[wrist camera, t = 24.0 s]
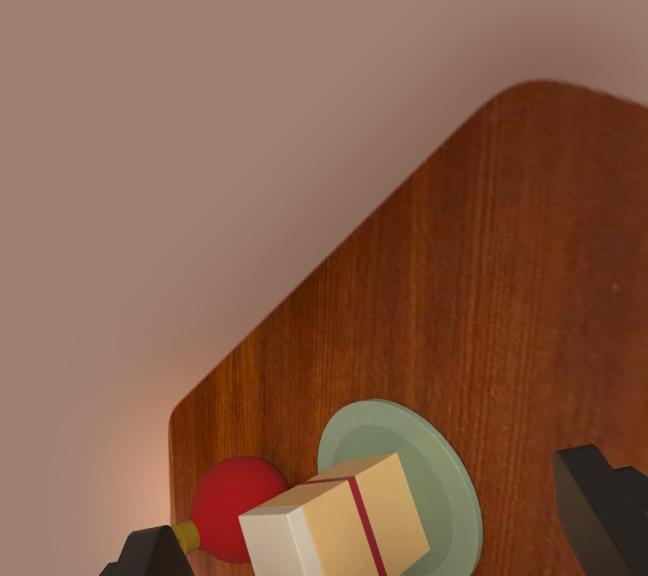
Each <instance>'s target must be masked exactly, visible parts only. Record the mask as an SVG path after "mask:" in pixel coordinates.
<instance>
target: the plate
mask: <svg viewBox="0 0 648 576" xmlns="http://www.w3.org/2000/svg"><path fill="white" fill-rule="evenodd" d="M389 453H398V456H399V459H400V462H401V465H402V468H403V471H404V474H405V477H406V480H407V483H408V486H409V489H410V491H411V494H412V497H413V500H414V503H415V506H416V509H417V512H418V515H419V518H420V521H421V524H422V527H423V530H424V532H425V535H426V538H427V541H428V544H429V547H430V550H429V551H428V552H427V553H426V554H425V555H423V556H422V557H421V558H420V559H419V560H417V561H416V562H415V563H414V564H413V565H411V566H410V567H409V568H408V569H407V570H405V571H404V572H403V573H402V574H400V575H399V576H472V575H473V573H474V571H475V569H476V567H477V565H478V562H479V559H480V556H481V550H482V543H483V526H482V516H481V511H480V507H479V502H478V498H477V495H476V492H475V490H474V487H473V484H472V482H471V480H470V477H469V475H468V473H467V471H466V469H465V467H464V465H463V464H462V462H461V460H460V458H459V457H458V455H457V454H456V453H455V451H454V450H453V448H452V447H451V445H450V444H449V443H448V442H447V441H446V439H445V438H444V437H443V436H442V435H441V434H440V432H438V431H437V430H436V429H435V428H434V427H433V426H432V425H431V424H430V423H429V422H428V421H426V420H425V419H424V418H422V417H421V416H420V415H419V414H417V413H415V412H414V411H412V410H410V409H409V408H407V407H404V406H402V405H400V404H398V403H395V402H391V401H388V400H382V399H364V400H359V401H356V402H354V403H351V404H349V405H347V406H344V407H343V408H342V409H340V410H339V411H337V412H336V413H335V414H334V415H333V416H332V418H331V419H330V420H329V422H328V423H327V425H326V427H325V429H324V431H323V433H322V437H321V440H320V444H319V449H318V460H317V466H318V475H319V474H321V473H323V472H324V471H326V470H328V469H330V468H332V467H334V466H336V465H338V464H340V463H342V462H344V461H346V460H349V459H356V458H362V457H369V456H376V455H383V454H389Z"/></svg>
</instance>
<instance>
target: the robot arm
mask: <svg viewBox="0 0 648 576" xmlns="http://www.w3.org/2000/svg"><path fill="white" fill-rule="evenodd" d="M553 467H554V478H555V488H556V499H557V508H558V513H559V517H560V521H561V524H562V527H563V530H564V532H565V535H566V537H567V539H568V541H569V543H570V545H571V547H572V549H573V551H574V553H575V555H576V557H577V559H578V561H579V563H580V565H581V567H582V568H583V570H584V572H585V574H586V576H648V477H647V476H645V475H644V474H642V473H641V472H639V471H638V470H636V469H635V468H633V467H632V466H628V467H623V468H618V469H612V467H611V466H610V464H609V463H608V462H607V460H606V459H605V458H604V456H603V455H602V453H601V452H600V451H599V449H598V448H597V447H596V446H595V445H593V444H589V445H584V446H579V447H574V448H569V449H563V450H558V451H554V452H553ZM99 576H195V575H194V573H193V570H192V568H191V566H190V564H189V562H188V560H187V558H186V556H185V554H184V552H183V550H182V548H181V546H180V543H179V541H178V539H177V537H176V535H175V533H174V531H173V529H172V528H171V527H170V526H168V525H164V526H160V527H154V528H149V529H144V530H138V531H133V532H132V533H131V534H130V535H129V536H128V538H127V540H126V542H125V544H124V547H123V550H122V552H121V555H120V557H119V559H118V562H113V563H109V564H108V565H107V566H106V567H105V569H104V570H103V571H102V572H101V574H100V575H99Z"/></svg>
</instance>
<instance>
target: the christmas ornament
mask: <svg viewBox="0 0 648 576" xmlns="http://www.w3.org/2000/svg"><path fill="white" fill-rule="evenodd" d="M288 490H289V488H288V486H287V483H286V481H285V480H284V478H283V476H282V475H281V474H280V472H279V471H278V470H277V469H276V468H275V467H273V466H272V465H271V464H269V463H268V462H266V461H264V460H262V459H259V458H256V457H251V456H238V457H233V458H229V459H226V460H224V461H222V462H220V463H218V464H217V465H215V466H214V467H213V468H212V469H210V470H209V471H208V472H207V473H206V475H205V476H204V477H203V478H202V480H201V481H200V483H199V485H198V487H197V489H196V491H195V494H194V497H193V501H192V507H191V514H190V516H189V518H188V519H187V520H185V521H183V522H181V523H179V524H177V525H173V526H172V527H171V528H172V529H173V531H174V533H175V535H176V537H177V539H178V541H179V543H180V546H181V548H182V550H183V552H184V554H185V556H186V555H187V554H189V553H191V552H193V551H195V550H196V549H201V550H205V551H207V552H208V553H210V554H211V555H212V556H214V557H216V558H217V559H219V560H222V561H225V562H229V563H238V564H241V563H248V562H251V559H250V556H249V552H248V549H247V545H246V542H245V538H244V535H243V531H242V528H241V525H240V521H239V518H238V517H239V516H240V515H242V514H244V513H246V512H248V511H249V510H251V509H254V508H255V507H257V506H259V505H261V504H263V503H265V502H267V501H269V500H271V499H273V498H275V497H276V496H278V495H280V494H282V493H284V492H286V491H288Z"/></svg>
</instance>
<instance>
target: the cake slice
mask: <svg viewBox="0 0 648 576" xmlns="http://www.w3.org/2000/svg"><path fill="white" fill-rule="evenodd" d="M238 518H239V521H240V525H241V528H242V531H243V535H244V538H245V542H246V545H247V549H248V552H249V556H250V559H251V562H252V566H253V569H254V573H255V576H399V575H400V574H402V573H403V572H404V571H405V570H407V569H408V568H409V567H410V566H411V565H413V564H414V563H415V562H416V561H417V560H419V559H420V558H421V557H422V556H423V555H425V554H426V553H427V552H428V551H429V550H430V547H429V544H428V541H427V538H426V535H425V532H424V530H423V527H422V524H421V521H420V518H419V515H418V512H417V509H416V506H415V503H414V500H413V497H412V494H411V491H410V489H409V486H408V483H407V480H406V477H405V474H404V471H403V468H402V465H401V462H400V459H399V456H398V453H389V454H383V455H376V456H369V457H362V458H356V459H349V460H346V461H344V462H342V463H340V464H338V465H336V466H334V467H332V468H330V469H328V470H326V471H324V472H323V473H321V474H319V475H317V476H315V477H313V478H311V479H309V480H307V481H305V482H302V483H300V484H299V485H297V486H296V487H294V488H292V489H290V490H288V491H286V492H284V493H282V494H280V495H278V496H276V497H275V498H273V499H271V500H269V501H267V502H265V503H263V504H261V505H259V506H257V507H255V508H254V509H251V510H249V511H248V512H246V513H244V514H242V515H240V516H239V517H238Z"/></svg>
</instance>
